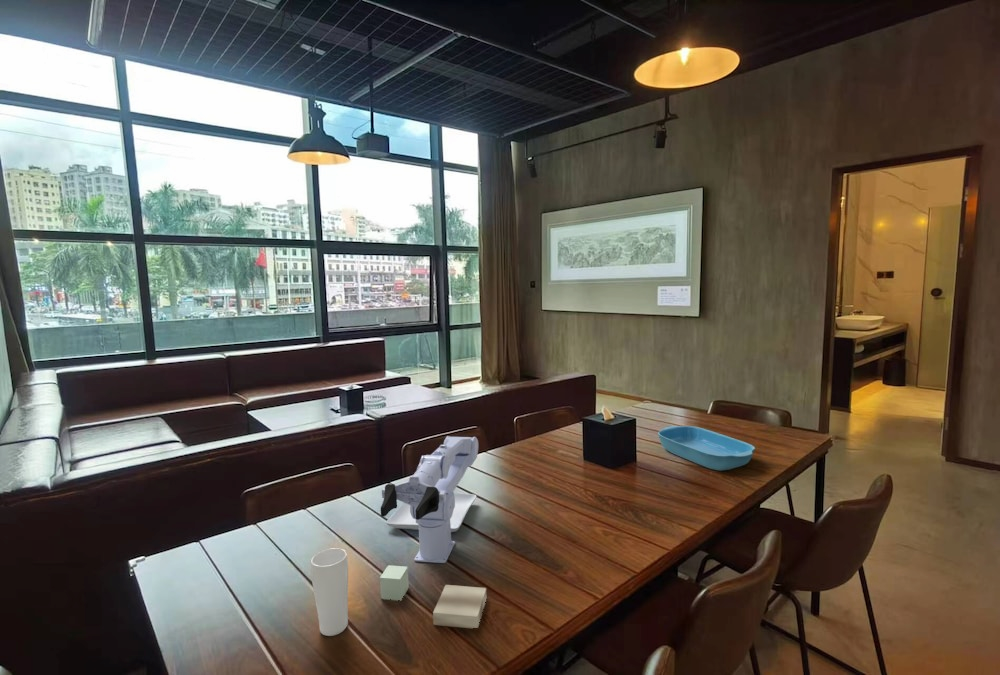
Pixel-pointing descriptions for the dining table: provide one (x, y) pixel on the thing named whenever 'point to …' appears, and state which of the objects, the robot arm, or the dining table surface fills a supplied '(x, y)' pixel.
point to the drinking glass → (331, 589)
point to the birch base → (460, 606)
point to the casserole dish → (706, 447)
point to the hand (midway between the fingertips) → (399, 513)
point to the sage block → (394, 582)
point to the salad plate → (405, 521)
